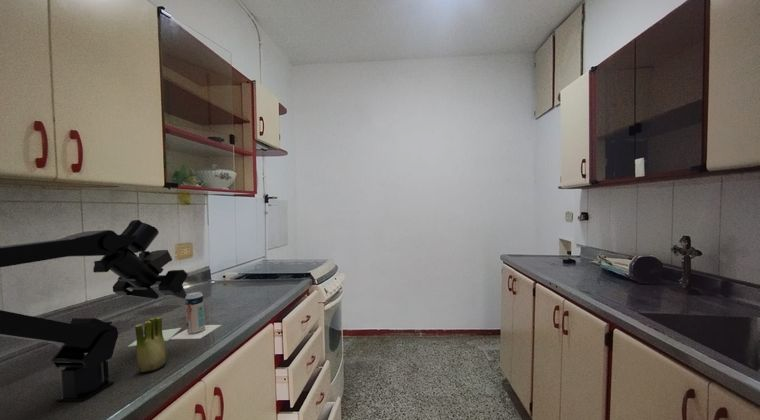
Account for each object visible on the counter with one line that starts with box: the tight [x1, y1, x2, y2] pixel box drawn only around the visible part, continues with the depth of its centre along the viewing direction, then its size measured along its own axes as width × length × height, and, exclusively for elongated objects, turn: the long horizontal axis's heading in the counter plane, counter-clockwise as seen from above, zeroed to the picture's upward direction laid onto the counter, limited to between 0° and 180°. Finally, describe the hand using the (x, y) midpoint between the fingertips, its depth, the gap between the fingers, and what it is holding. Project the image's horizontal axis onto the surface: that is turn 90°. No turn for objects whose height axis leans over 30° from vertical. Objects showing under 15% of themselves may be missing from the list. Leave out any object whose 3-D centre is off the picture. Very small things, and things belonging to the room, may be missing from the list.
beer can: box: [184, 291, 206, 334], centre depth 93 cm, size 5×5×12 cm
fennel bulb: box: [134, 316, 167, 373], centre depth 71 cm, size 6×5×12 cm
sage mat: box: [127, 327, 182, 348], centre depth 91 cm, size 10×10×1 cm
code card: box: [168, 324, 222, 341], centre depth 93 cm, size 10×10×1 cm
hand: (171, 297), depth 85 cm, fingers open, 9 cm apart
